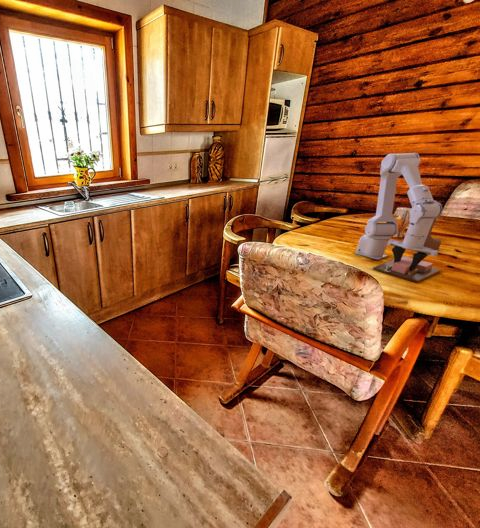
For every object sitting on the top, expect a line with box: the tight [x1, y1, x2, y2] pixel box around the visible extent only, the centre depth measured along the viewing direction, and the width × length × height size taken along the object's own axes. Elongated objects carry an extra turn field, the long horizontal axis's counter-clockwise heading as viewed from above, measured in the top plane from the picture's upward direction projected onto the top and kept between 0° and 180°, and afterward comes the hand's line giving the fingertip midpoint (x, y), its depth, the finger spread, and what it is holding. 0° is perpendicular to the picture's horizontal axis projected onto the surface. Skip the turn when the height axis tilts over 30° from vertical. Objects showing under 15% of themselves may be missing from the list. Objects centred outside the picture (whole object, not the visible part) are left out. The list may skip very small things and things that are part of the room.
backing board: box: [373, 255, 441, 284], centre depth 112 cm, size 14×18×4 cm
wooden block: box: [423, 218, 442, 252], centre depth 129 cm, size 9×4×18 cm, turn 49°
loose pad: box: [391, 260, 416, 274], centre depth 111 cm, size 4×7×3 cm, turn 112°
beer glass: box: [392, 206, 412, 239], centre depth 146 cm, size 7×7×15 cm
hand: (403, 267), depth 111 cm, fingers closed on loose pad, 4 cm apart
